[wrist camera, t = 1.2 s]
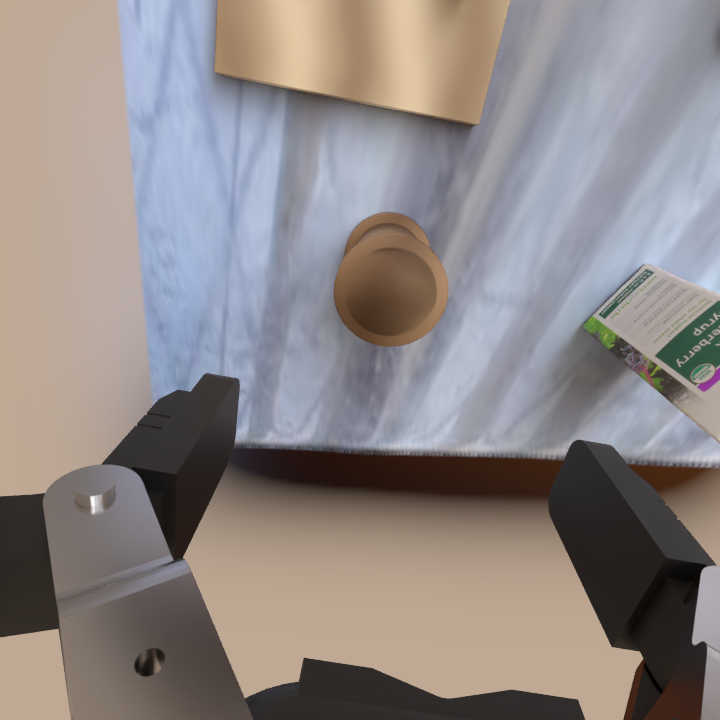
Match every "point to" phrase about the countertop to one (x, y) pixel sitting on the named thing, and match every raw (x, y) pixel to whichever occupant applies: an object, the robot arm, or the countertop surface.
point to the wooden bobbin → (390, 282)
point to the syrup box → (667, 340)
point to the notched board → (367, 50)
